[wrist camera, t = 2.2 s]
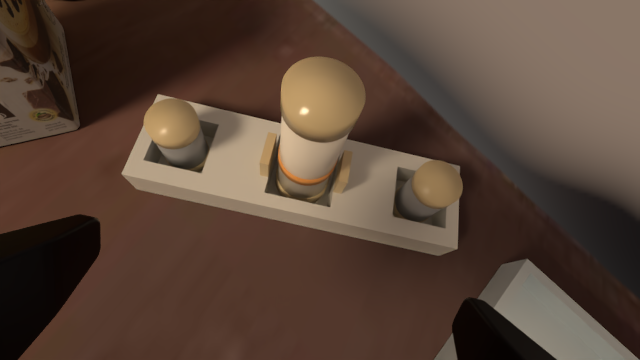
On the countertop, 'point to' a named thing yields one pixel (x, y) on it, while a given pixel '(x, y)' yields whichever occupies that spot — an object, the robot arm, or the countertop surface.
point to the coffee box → (34, 74)
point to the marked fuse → (315, 124)
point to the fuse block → (265, 201)
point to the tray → (545, 316)
